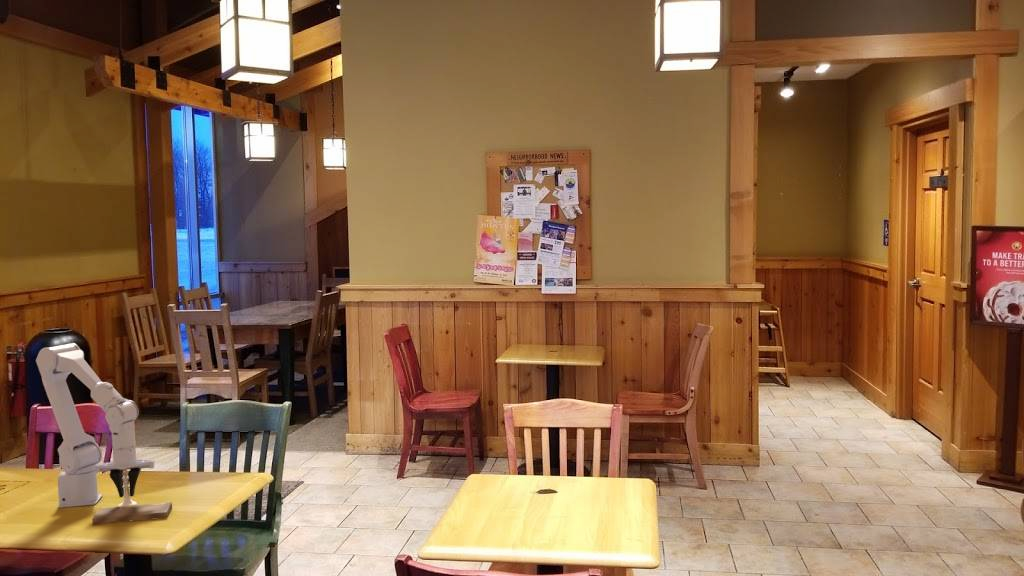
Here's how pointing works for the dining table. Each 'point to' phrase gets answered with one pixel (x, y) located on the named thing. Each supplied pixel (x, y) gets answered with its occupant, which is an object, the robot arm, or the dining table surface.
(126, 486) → the chess piece
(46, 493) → the dining table surface
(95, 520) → the walnut board
